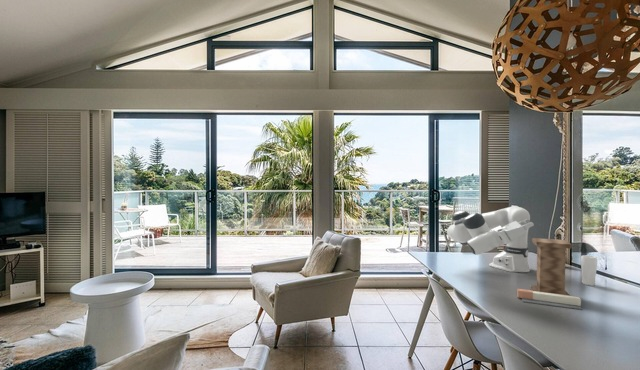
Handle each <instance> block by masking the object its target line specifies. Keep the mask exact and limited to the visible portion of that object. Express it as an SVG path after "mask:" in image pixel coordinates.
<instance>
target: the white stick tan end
mask: <svg viewBox="0 0 640 370" xmlns="http://www.w3.org/2000/svg"><path fill="white" fill-rule="evenodd" d="M516 290H517V291H516V293H517V298H520V299H521V298H527V299H534V300H542V301H549V302H556V303H563V304H571V305H578V306H580V307H581V306H582V298H580V296H575V295H573V296H572V295H570V296H568V295H560V294H552V293H544V292H537V291H533V290H532V289H531V290H530V289H524V288H517V289H516Z"/></svg>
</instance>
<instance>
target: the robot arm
mask: <svg viewBox="0 0 640 370" xmlns="http://www.w3.org/2000/svg"><path fill="white" fill-rule="evenodd" d="M451 218H452V221H453V222H452V223H453V224H450V225H449V226H448V228H447V229H446V232H447V233H446V234H447V236H448V237H449V238H450V239H451V240H452V241H454V242H458V243H459V244H460V245H461V246H467V247H468V248H469V250H470V251H471V253H472V254H474V255H475V256H478V255H481V254H485V253H487V252H490V251H492V250H494V249H495V248H498V247H501V246H502V250H503V251H501V252H499V253H498V254H496V255H494V256H493V259H492V262H489V264H488V266H489V267H490V268H491V267H492V268H495V269H499V270H501V271H506V272H508V273H518V272H519V273H529V272H530V271H531V270H530V266H529V265H530V264H529V260H528V257H529V247H528V236H529V229H530V228H532V227H534V226H535V224H534V223H533V222H532V221H530V220H531V215H530V211H528V210H527V209H525V208H523V207H521V206H517V205H514V206H508V207H505V208H501V209H498V210H492V211H488V212H483V213H477V212H474V213H471V214H470V213H469V212H468V211H467V210H457V211H456V212H454V213H453V214H452V216H451Z"/></svg>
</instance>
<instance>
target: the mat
mask: <svg viewBox="0 0 640 370" xmlns="http://www.w3.org/2000/svg"><path fill="white" fill-rule="evenodd" d="M520 299H521V300H522V303H527V304H528V303H529V304H535V305H544V306H550V307H557V306H558V307H559V308H564V307H565V308H566V309H572V308H574V309H573V310H580V311H581V310H583V308H582V307H581V306H578V305H571V304H563V303H556V302H549V301H542V300H534V299H527V298H520Z"/></svg>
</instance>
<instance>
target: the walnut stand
mask: <svg viewBox="0 0 640 370" xmlns="http://www.w3.org/2000/svg"><path fill="white" fill-rule="evenodd" d="M531 243H533V245H535V246H536V251H537V252H536V285H533V284H531V285H530V288H531V290H532V291H537V292H544V293H552V294H560V295H568V296H571V295H570V293H568V291H567V290H566V289H565V288H566V286H565V285H566V284H565V283H566V249H570V250H572V248H573V243H570V242H569V241H567V240H565V239H555V238H539V237H538V238H537V237H532V239H531Z"/></svg>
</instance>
